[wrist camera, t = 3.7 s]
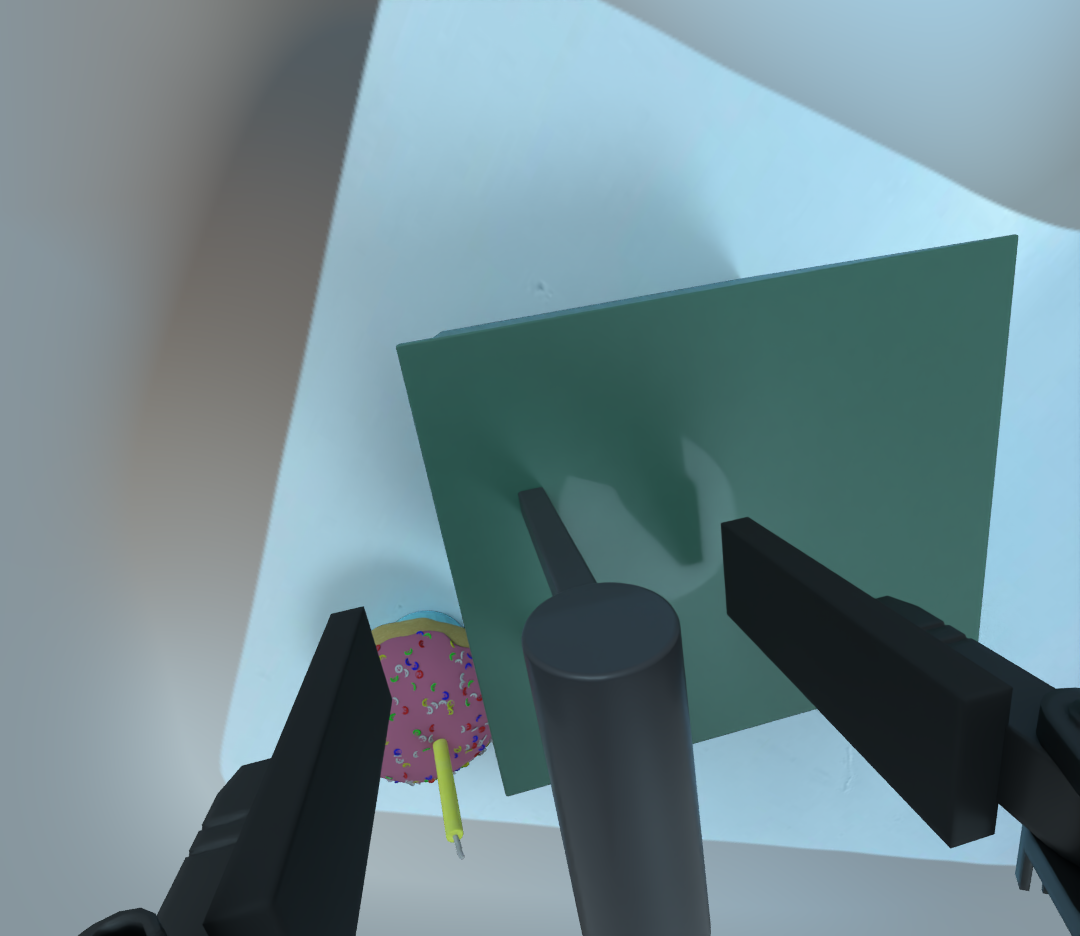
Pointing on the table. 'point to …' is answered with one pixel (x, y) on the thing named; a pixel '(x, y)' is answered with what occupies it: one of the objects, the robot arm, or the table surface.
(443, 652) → the cupcake
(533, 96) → the table surface
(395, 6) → the table surface
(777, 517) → the cool box lid
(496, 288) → the table surface
